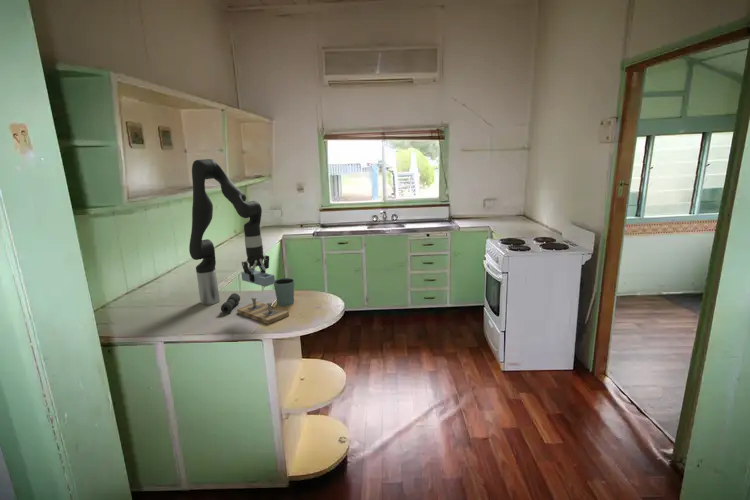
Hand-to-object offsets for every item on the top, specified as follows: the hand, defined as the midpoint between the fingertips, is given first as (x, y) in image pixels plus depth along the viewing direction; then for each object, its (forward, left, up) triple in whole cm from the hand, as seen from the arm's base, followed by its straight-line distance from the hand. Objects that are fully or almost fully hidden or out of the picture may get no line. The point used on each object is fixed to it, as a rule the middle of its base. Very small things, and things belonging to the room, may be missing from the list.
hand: (258, 279), depth 192 cm
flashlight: (-21, -3, -18) cm, 28 cm away
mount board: (0, +1, -18) cm, 18 cm away
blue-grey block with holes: (0, 0, -1) cm, 1 cm away
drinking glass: (-2, +17, -18) cm, 24 cm away
